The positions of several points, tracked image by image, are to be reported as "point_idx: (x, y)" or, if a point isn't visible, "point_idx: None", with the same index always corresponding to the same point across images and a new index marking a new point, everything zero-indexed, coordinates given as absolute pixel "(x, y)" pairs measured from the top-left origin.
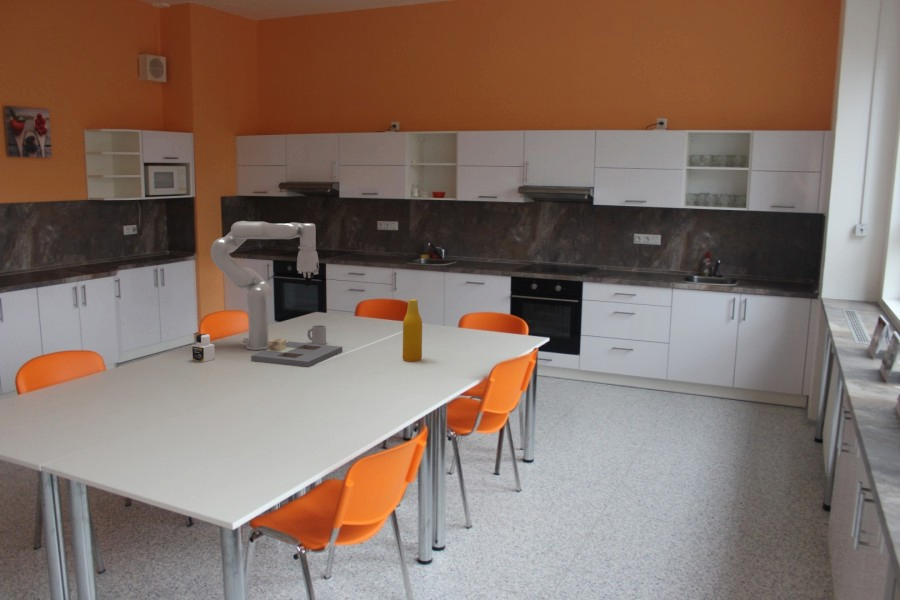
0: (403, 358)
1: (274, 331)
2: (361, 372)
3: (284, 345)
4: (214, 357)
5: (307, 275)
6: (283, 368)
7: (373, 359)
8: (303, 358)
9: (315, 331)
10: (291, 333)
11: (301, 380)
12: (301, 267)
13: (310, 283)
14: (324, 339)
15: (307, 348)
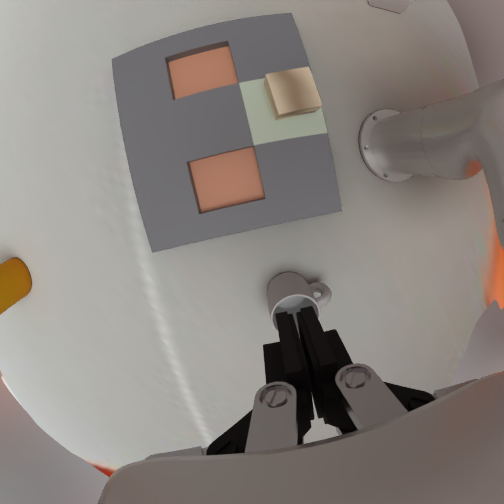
0: (18, 261)
1: (450, 315)
2: (19, 127)
3: (273, 108)
4: (370, 2)
5: (342, 423)
6: (160, 19)
7: (55, 230)
8: (141, 69)
9: (290, 289)
10: (413, 327)
11: (77, 9)
12: (478, 461)
13: (264, 350)
14: (267, 298)
15: (253, 200)
